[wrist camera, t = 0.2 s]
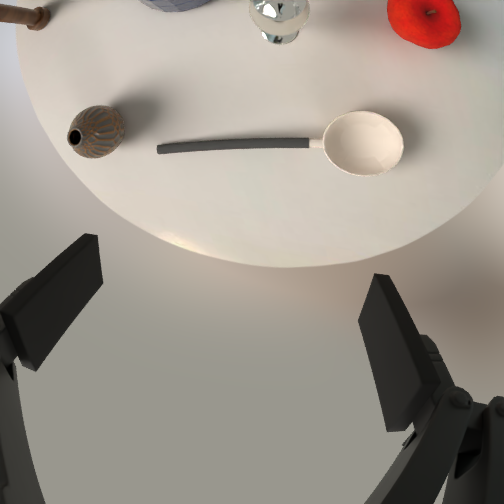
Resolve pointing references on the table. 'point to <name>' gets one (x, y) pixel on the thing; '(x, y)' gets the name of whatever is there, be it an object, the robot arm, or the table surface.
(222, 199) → the table surface
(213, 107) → the table surface
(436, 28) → the apple
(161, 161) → the table surface
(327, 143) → the ladle
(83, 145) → the vase
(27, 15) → the brown wooden post
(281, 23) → the wineglass
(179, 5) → the blue bowl
